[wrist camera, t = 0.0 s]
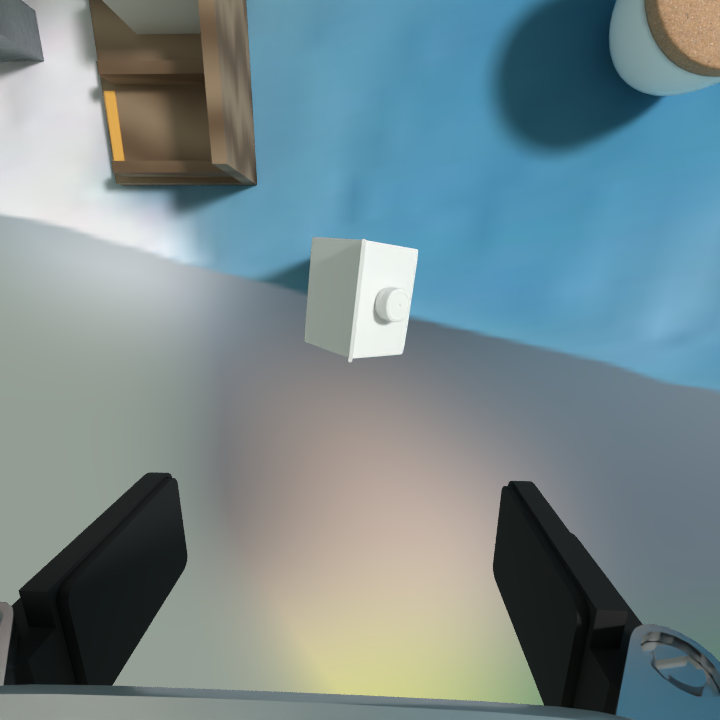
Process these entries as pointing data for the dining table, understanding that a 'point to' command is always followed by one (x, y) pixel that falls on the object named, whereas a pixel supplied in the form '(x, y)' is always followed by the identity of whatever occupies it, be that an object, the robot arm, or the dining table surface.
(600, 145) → the dining table surface
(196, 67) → the rack
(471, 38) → the dining table surface
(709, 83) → the lidded bowl
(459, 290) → the dining table surface
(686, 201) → the dining table surface
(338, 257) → the milk carton
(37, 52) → the panel
